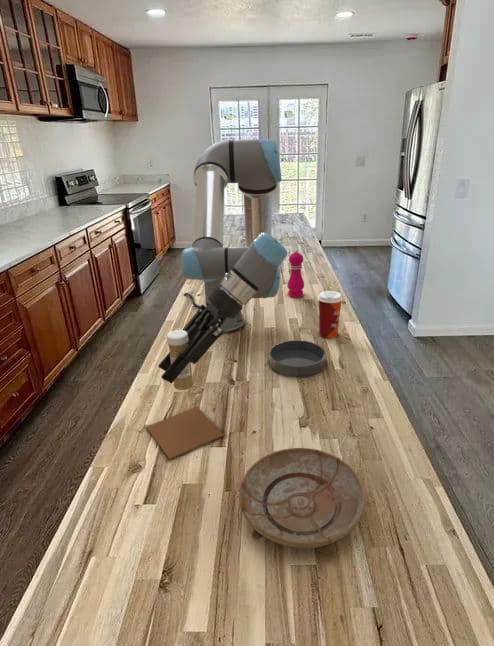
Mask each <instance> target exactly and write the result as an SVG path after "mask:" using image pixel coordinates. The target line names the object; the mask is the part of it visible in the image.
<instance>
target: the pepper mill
mask: <svg viewBox="0 0 494 646" xmlns="http://www.w3.org/2000/svg"><path fill="white" fill-rule="evenodd" d="M288 262H289V268H290V276H289V279H288V281H287V284H286V287H287V289H288V292H287V293H288V296H289V297H290V298H301V297H303V296H304V290H303V289H304V288H305V282H304V281H305V280H304V278H303V277H302V269H303V262H304V256H303V255H302V253H299V250H298V249H294V250H293V252H292V253H291V254H290V255H289V257H288Z"/></svg>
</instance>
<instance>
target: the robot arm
mask: <svg viewBox="0 0 494 646" xmlns="http://www.w3.org/2000/svg"><path fill="white" fill-rule="evenodd" d="M279 153H280V152H279V147H278V143H277V141H275V140H273V139H263V138H258V139H257V138H256V139H254V138H253V139H234V140H231V139H230V140H229V139H225V140H224V139H223V140H220V141H217V142H215V143H214V144H211V145H210V146H209V147H208V148H207V149H206V150H205V151H203V152H202V154H201V155H200V157H199V158H198V160H197V162H196V164H195V166H194V169H193V170H194V171H193V184H194V185H195V202H194V215H193V216H194V217H193V227H192V229H193V230H192V241H191V242H192V243H191V244H192V245H191V247H188V248H184V249H183V250H182V251H181V257H180V259H181V260H180V261H181V270H182V271H181V272H182V275H183V277H184V278H185V279H186V280H192V281H195V280H196V281H203V284H204V296H205V305H204V304H201V305H199V304H197V303H196V302H195V297H194V296H193V295H192V294H191V293H189V292H184V294H183V296H188V297H190V298H191V301H192V304H193V306H195V307H196V308H198V309H197V311H196V313H194V315H193V316H192V317H191V318H190V320H189V321H187V324H186V325H185V326H184V327H183V328H182V330H184V331H186V332H187V333H188V339H189V340H188V347H187V349H186V350H185V351H184V353H183V354H182V353H179V356H178V357H177V358H176V359H175V361H174V362H173V363H172V364H171V359H170V351H169V352H168V353H167V355H166V356H165V357H164V358H163V359H162V360H161V362H159V364H158V366H157V367H158V368H159V369H161V370H162V371H164V373H162V375H161V376H160V377H161V379H162V380H165V381H166V382H168V383H169V384H174V380H175V379H176V378H177V377H178V375H179V374H180V373H181V372H182V371H183V370H184V368H185V367H186V366H187V365H188V364H189V363H190V362H191V364H193V365H196V364H197V363H198V362H199V360H201V358H202V357H203V356H204V354H206V353H207V351H208V350H209V349H211V347H212V346H213V345H214V344H215V342H216V341H217V340H218V339H219V338H220V337H222V336H223V335H224V334H227V333H228V334H229V333H234V332H237V331H239V330H241V329H242V328H243V327H244V326H245V318H244V316H243V313H242V310H243V305H246V306H247V304H248V303H249V302H250V300H252V299H269V298H275V297H277V295H278V293H279V289H280V282H281V280H280V278H281V267H280V266H281V265H282V264H283V262H284V260H285V259H286V257H287V256H288V250H287V249H286V247H285V246H284V245H283V244H282V243H281V242H279V240H277V239H276V238H275V237H274V236H273V235H272V231H273V230H272V229H273V227H272V226H273V225H272V222H273V221H272V219H273V217H272V215H273V214H272V212H273V209H272V208H273V207H272V206H273V205H272V202H273V201H272V199H273V198H272V197H273V196H272V194H273V193H274V192H275V191H276V190H277V186H278V185H277V184H279V183H281V182H282V181H283V180H282V179H283V178H282V170H281V160H280V154H279ZM228 184H237V188H238V191H240V192H241V193H242V194H243V212H244V213H243V214H244V233H245V235H244V236H245V246H230V247H229V246H224V214H225V213H224V211H225V210H224V209H225V208H224V206H225V205H224V204H225V189H226V188H227V186H228Z"/></svg>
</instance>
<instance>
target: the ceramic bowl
mask: <svg viewBox="0 0 494 646" xmlns="http://www.w3.org/2000/svg"><path fill="white" fill-rule="evenodd" d="M238 499H239V505H240V509H241V512H242V515H243V516H244V518H245V520H246V521H247V523H248V524H249V525H250V526H251V527H252V528H253V530H254V531H256V533H258V534H260V535H261V536H262V537H264V538H266V539H267V540H269V541H271V542H273V543H275V544H279V545H281V546H284V547H289V548H295V549H315V548H322V547H325V546H329V545H330V544H333V543H335V542H337V541H339V540H341V539H343V538H345V537H346V536H348V535H349V534H350V533H351V532H352V531H353V530H354V529H355V528H356V527H357V525H358V524H359V522H360V520H361V518H362V516H363V514H364V511H365V506H366V492H365V488H364V484H363V483H362V479H361V478H360V477H359V475H358V473H357V472H356V470H354V469H353V467H352V466H351V465H349V464H348V463H347V462H346V461H344V460H343V459H342V458H340V457H337V456H336V455H334V454H331V453H329V452H326V451H323V450H320V449H315V448H310V447H309V448H308V447H291V448H285V449H280V450H276V451H273V452H270V453H268V454H267V455H265V456H262V457H261V458H259V459H257V461H256V462H254V463H253V464H252V465H251V466H250V467H249V468H248V470H247V471H246V472H245V474H244V476H243V478H242V480H241V482H240V487H239V491H238Z"/></svg>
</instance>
